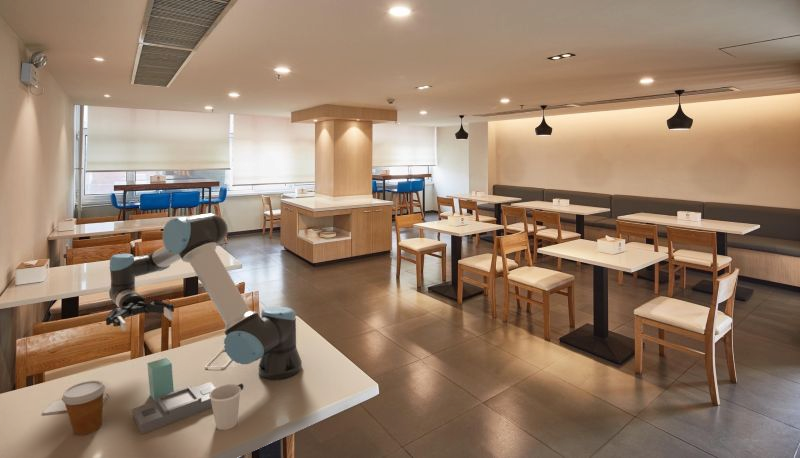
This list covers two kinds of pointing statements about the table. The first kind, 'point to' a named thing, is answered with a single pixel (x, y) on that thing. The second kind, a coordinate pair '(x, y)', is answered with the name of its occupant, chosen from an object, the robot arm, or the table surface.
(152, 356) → the table surface
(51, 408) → the smartphone
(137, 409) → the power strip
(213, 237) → the robot arm
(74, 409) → the disposable coffee cup
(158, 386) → the teal tall block
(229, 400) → the dixie cup
